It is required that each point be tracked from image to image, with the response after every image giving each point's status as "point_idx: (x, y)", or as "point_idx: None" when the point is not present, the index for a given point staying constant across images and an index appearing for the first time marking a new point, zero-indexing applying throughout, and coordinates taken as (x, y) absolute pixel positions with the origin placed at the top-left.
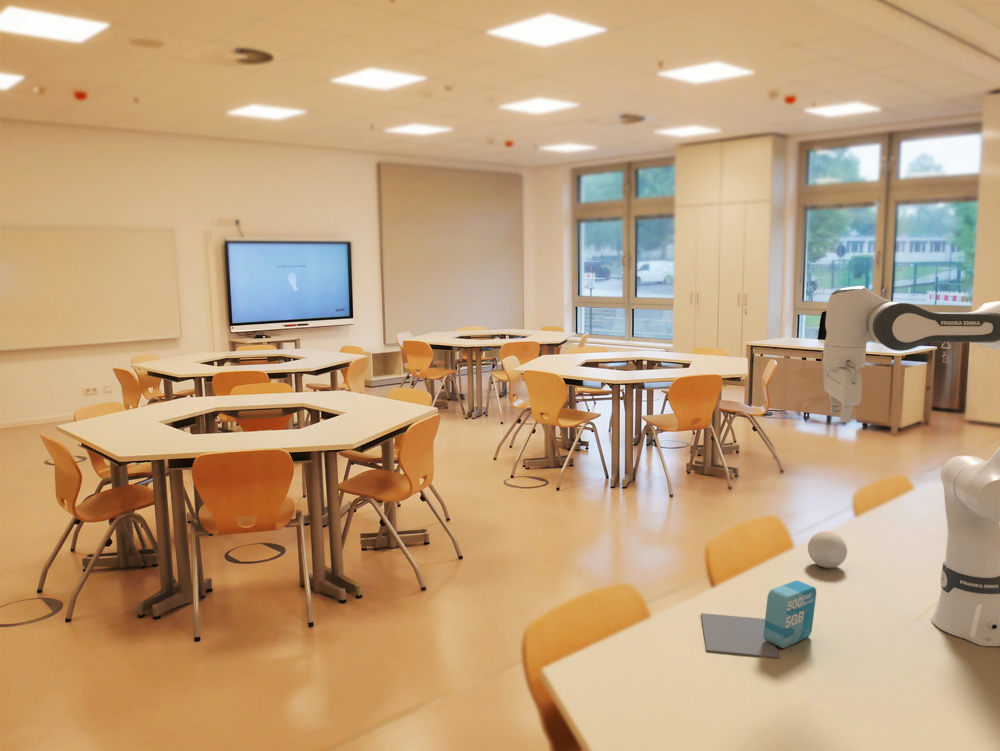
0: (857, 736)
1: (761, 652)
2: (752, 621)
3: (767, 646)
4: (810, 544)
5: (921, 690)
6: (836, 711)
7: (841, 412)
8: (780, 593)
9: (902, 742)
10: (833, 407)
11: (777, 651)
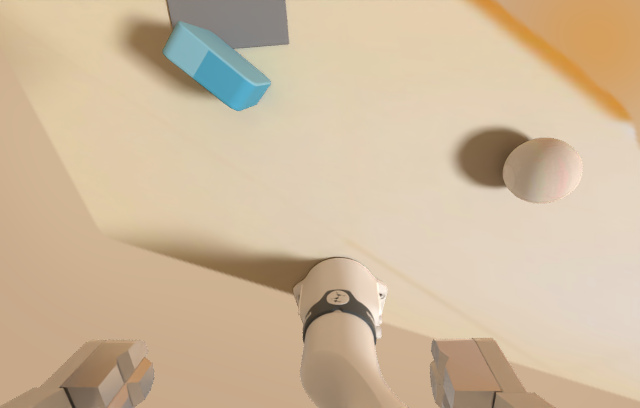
0: (50, 121)
1: None
2: (273, 19)
3: None
4: (544, 142)
5: (170, 203)
6: (86, 107)
7: (41, 400)
8: (172, 42)
9: (62, 161)
10: (452, 395)
11: None
